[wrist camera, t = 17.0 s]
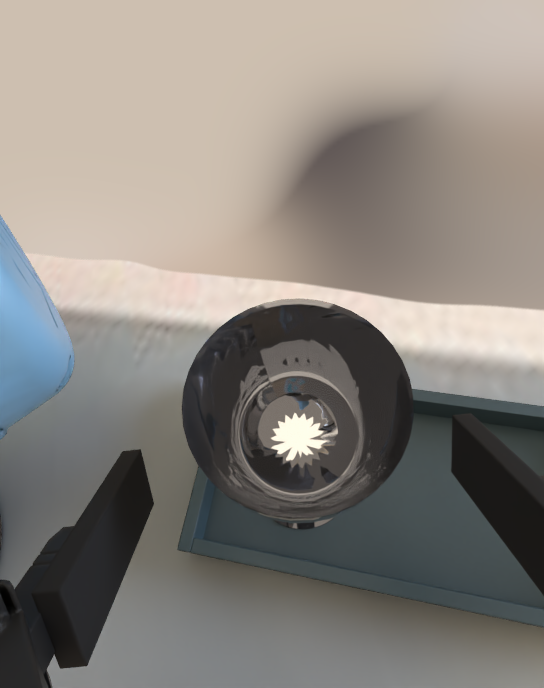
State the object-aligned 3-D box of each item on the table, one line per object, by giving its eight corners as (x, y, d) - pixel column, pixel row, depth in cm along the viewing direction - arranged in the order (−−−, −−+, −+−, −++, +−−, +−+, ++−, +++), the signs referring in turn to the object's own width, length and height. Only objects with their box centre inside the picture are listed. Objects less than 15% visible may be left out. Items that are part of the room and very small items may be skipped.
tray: (189, 549, 25) (176, 550, 23) (231, 379, 31) (224, 363, 28) (651, 647, 21) (699, 660, 19) (605, 431, 27) (637, 418, 24)
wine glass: (225, 446, 28) (152, 351, 15) (322, 397, 29) (337, 268, 16) (273, 560, 24) (235, 572, 11) (383, 499, 25) (467, 444, 12)
